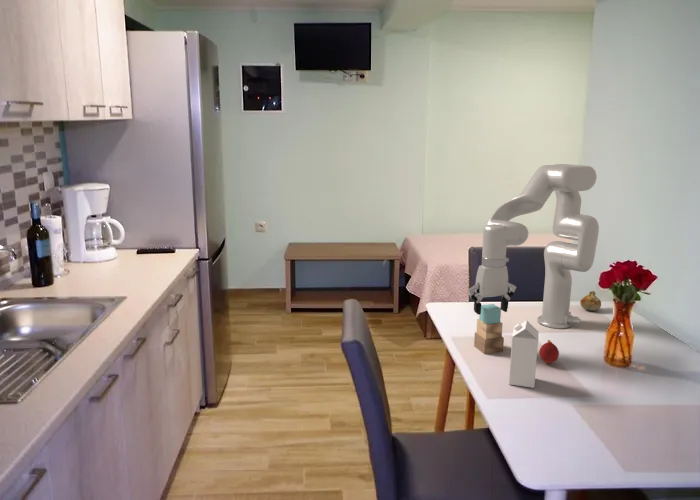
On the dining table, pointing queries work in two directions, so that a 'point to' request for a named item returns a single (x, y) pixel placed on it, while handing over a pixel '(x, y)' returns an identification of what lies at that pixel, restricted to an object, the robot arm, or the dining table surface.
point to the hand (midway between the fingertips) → (490, 312)
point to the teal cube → (490, 314)
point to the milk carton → (523, 355)
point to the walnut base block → (488, 344)
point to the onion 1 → (549, 352)
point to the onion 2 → (590, 302)
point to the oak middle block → (489, 330)
